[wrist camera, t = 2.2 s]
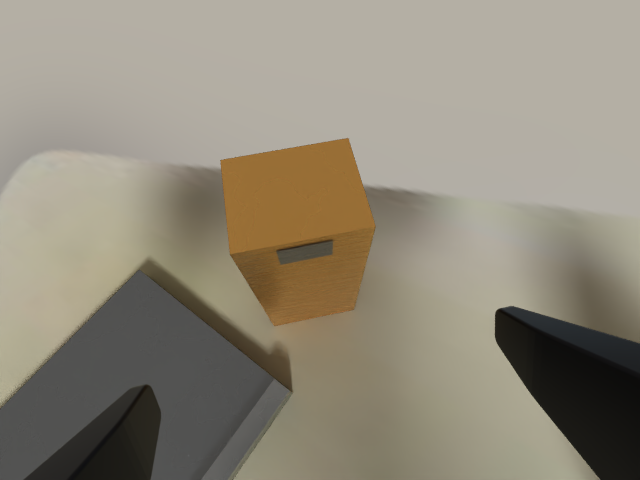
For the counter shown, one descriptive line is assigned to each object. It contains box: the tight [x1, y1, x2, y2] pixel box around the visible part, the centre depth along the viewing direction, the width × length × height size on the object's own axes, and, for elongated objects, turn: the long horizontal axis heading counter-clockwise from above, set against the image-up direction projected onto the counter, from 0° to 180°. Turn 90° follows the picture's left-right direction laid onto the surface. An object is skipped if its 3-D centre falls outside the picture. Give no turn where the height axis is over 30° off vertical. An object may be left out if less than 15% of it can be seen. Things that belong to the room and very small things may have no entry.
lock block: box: [221, 138, 376, 326], centre depth 18 cm, size 4×5×11 cm
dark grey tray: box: [0, 270, 292, 480], centre depth 18 cm, size 15×12×2 cm
